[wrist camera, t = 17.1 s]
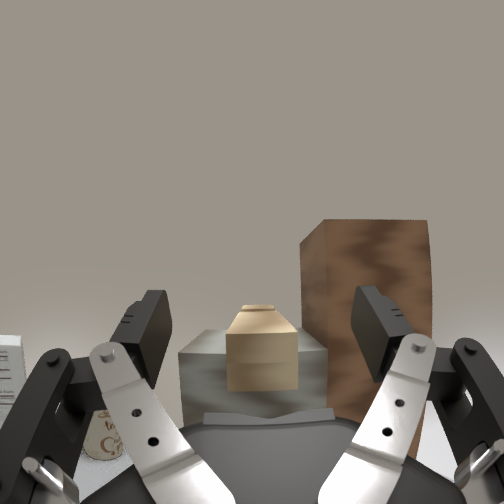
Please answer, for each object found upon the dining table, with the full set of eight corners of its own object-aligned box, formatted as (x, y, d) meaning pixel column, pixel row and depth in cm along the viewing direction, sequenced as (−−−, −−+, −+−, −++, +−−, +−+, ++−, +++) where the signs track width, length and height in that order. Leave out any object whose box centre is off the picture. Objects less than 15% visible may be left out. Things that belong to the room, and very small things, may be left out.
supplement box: (-6, 420, 32) (-22, 333, 34) (35, 420, 39) (22, 334, 40) (-8, 443, 25) (-31, 342, 27) (40, 442, 32) (21, 344, 33)
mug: (94, 469, 29) (80, 408, 30) (61, 436, 36) (50, 383, 37) (140, 454, 36) (131, 397, 37) (100, 427, 43) (92, 377, 44)
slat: (227, 391, 14) (225, 333, 14) (243, 328, 38) (243, 305, 38) (297, 389, 14) (297, 331, 14) (271, 327, 38) (271, 304, 38)
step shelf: (198, 527, 21) (176, 223, 24) (214, 465, 35) (203, 246, 38) (402, 506, 21) (426, 220, 24) (366, 454, 35) (373, 242, 38)
